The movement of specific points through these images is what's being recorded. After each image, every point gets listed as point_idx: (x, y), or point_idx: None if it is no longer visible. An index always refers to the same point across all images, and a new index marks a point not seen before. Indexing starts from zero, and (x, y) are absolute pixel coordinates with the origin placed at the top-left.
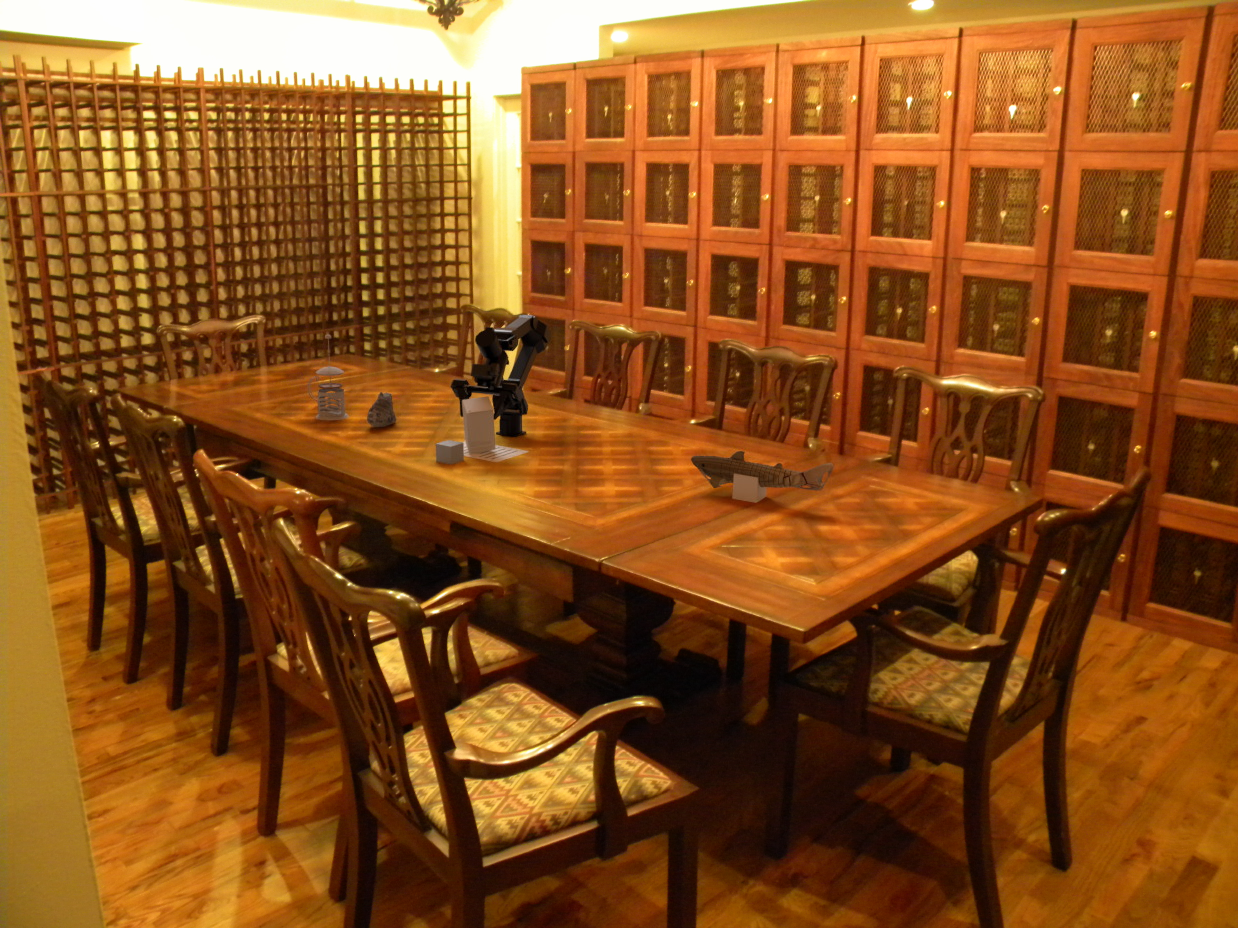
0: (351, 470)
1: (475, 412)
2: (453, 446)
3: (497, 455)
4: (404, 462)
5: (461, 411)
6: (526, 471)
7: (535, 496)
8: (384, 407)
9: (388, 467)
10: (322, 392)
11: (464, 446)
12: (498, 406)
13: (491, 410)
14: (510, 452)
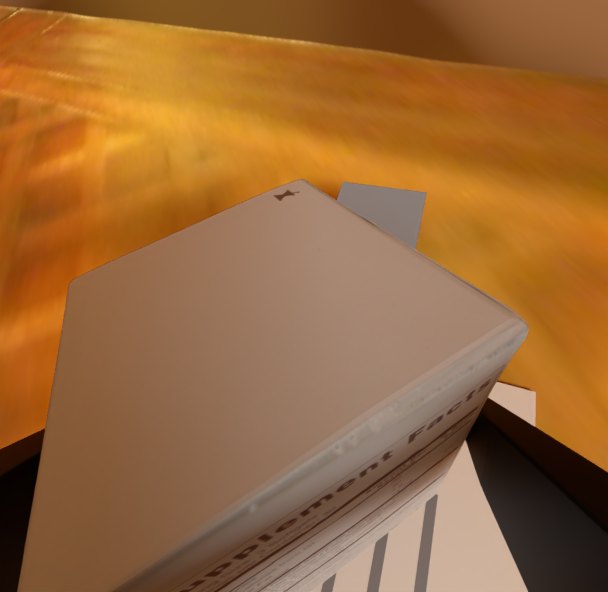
0: (582, 92)
1: (233, 209)
2: (338, 197)
3: None
4: (508, 201)
5: (490, 408)
6: (106, 258)
7: (83, 122)
8: None
9: (510, 146)
10: None
11: (445, 522)
12: (2, 458)
13: (91, 276)
14: None
